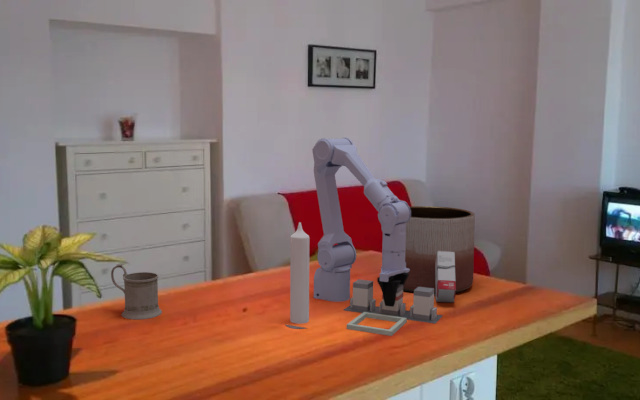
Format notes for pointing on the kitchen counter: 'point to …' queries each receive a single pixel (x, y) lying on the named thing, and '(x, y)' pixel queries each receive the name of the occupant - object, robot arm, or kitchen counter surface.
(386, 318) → the grey square frame
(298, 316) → the candle
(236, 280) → the kitchen counter surface
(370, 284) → the block
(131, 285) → the mug
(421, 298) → the fuse right
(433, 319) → the board
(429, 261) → the planter
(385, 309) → the red banded fuse
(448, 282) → the ink box
